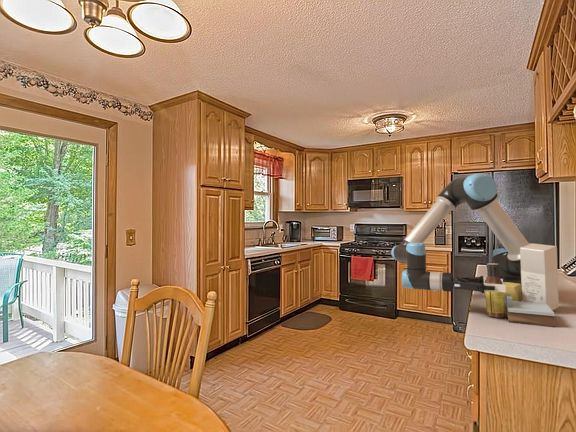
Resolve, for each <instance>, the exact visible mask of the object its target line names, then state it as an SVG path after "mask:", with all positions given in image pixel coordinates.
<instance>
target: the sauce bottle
mask: <svg viewBox="0 0 576 432" xmlns="http://www.w3.org/2000/svg"><path fill="white" fill-rule="evenodd" d="M486 268H487V277H485V278H486V280H485V283H487V284H503V283H502V281H501V279H500V276H499V269H498V268H499V264H496V263H493V262H492V263H491V262H489V263H486ZM484 291H485V290H484ZM484 294H485V295H484V296H485V309H486V315H487V316H488V317H490V318H494V319H495V318H497V319H498V318H499V319H503V318H505V317H506V309H505V296H504V292H491V291H485V293H484Z"/></svg>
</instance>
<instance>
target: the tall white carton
mask: <svg viewBox="0 0 576 432" xmlns="http://www.w3.org/2000/svg"><path fill="white" fill-rule="evenodd" d="M520 259H521V283H522V302H532V303H544V304H547V305H548V306H549V307H550V308H551V310H552V311H554V310H556V309H558V308H559V307H560V305H559V303H560V302H559V298H560V297H559V271H558V248H557V245H549V244H541V243H531V244H529V245H526V246H524V247H521V248H520Z"/></svg>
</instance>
